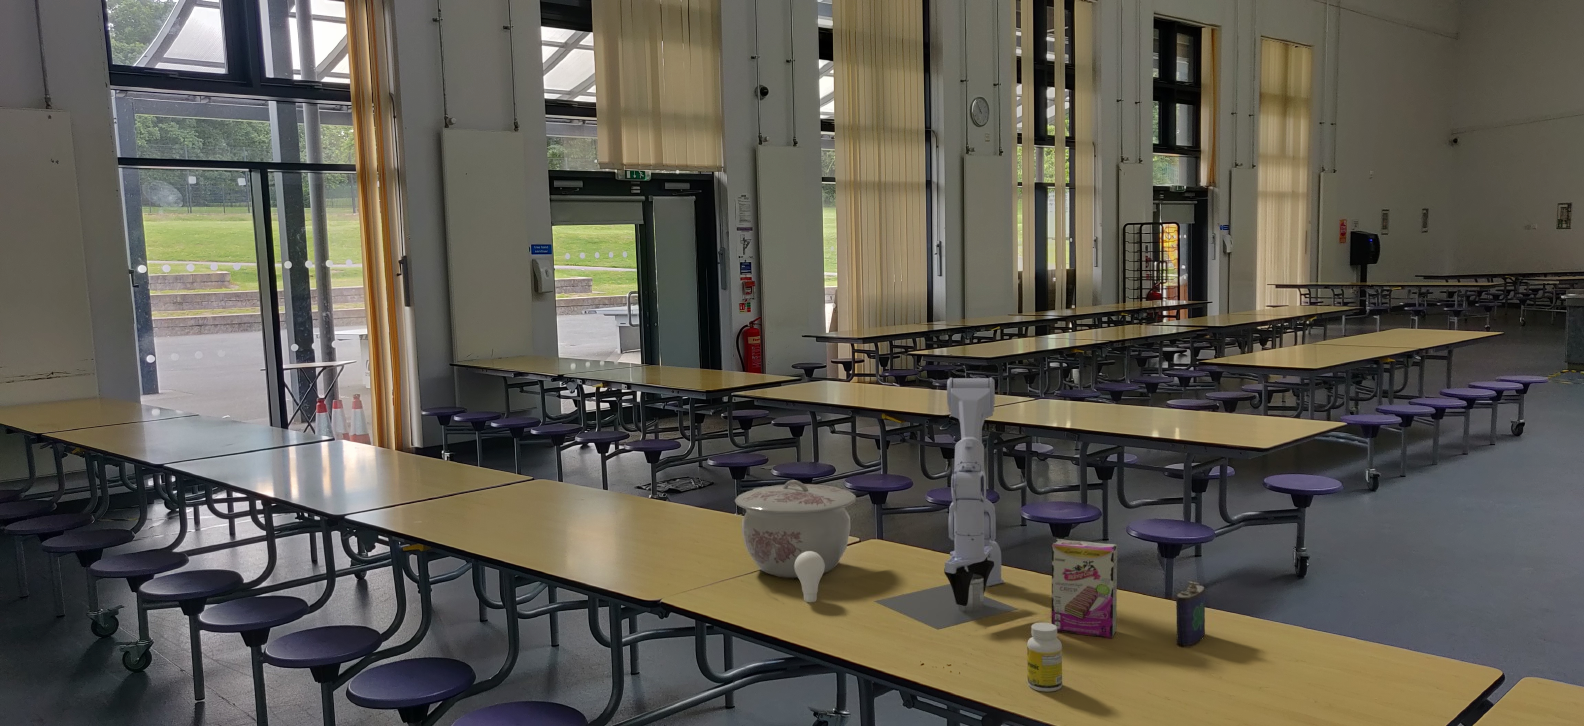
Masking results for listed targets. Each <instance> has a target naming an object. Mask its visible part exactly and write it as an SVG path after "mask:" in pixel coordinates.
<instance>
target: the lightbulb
mask: <svg viewBox="0 0 1584 726" xmlns="http://www.w3.org/2000/svg"><path fill="white" fill-rule="evenodd" d="M794 569H795V572H796V574H797V576H798V578H797V579H799V581H800V584H801V590H802V591H801V592H802V593H803V601H804V602H806V603H814V602H816V601H817V600H818V599H817V598H818V597H817V595H818V594H817V593H818V591H819V584H820V580H821V578H822V577H823V574H824V573H823V572H824V569H825V564H824V561H823V559H822V557H821V556H820V555H819V554H817V553H816V552H813V551H806V552H804V553H802V554H800V555H799V556H798V557H797V559H796V561H795V565H794Z"/></svg>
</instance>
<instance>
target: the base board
mask: <svg viewBox="0 0 1584 726" xmlns="http://www.w3.org/2000/svg"><path fill="white" fill-rule="evenodd" d="M873 603H876V604H879V605H881V606H882V607H885V608H887V609H890V610H892V611H894V612H897V613H899V614H901V615H904V616H905V617H908V618H911V619H913V620H915V621H918V622H920V623H922V624H924V625H926V626H929V627H931V628H933V629H936V630H942V629H946V628H949V627H953V626H957V625H961V624H965V623H969V622H972V621H977V620H981V619H984V618H988V617H993V616H996V615H1000V614H1004V613H1008V612H1011V611H1016V610H1018V608H1017V607H1014V606H1012V605H1008V604H1006V603H1003V602H1001V601H999V600H995V599H992V598H990V597H988V596H986V595H984V609H983V610H981V611H977V612H964V611H960V610H958V609H956V605H955V597H954V593H953V590H952V587H951V584H950V583H948V584H943V585H939V586H934V587H930V588H925V589H921V590H917V591H913V592H909V593H904V594H900V595H895V596H891V597H887V598H882V599H877V600H873Z"/></svg>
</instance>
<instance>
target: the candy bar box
mask: <svg viewBox="0 0 1584 726" xmlns="http://www.w3.org/2000/svg"><path fill="white" fill-rule="evenodd" d="M1117 581H1118V544H1115V543H1104V542H1103V543H1102V542H1092V541H1085V540H1084V541H1083V540H1073V539H1072V540H1071V539H1062V538H1056V540H1055V541H1054V542H1052V546H1051V607H1050V608H1051V614H1050V615H1051V621H1050V624H1054V625H1055V626H1056V627H1057V632H1061V633H1068V634H1069V633H1070V634H1076V635H1077V634H1078V635H1085V636H1091V637H1092V636H1093V637H1101V638H1108V639H1109V638H1110V639H1113V638H1114V635H1115V633H1116V631H1117V619H1118V618H1117V607H1118V606H1117V604H1118V603H1117V601H1118V600H1117V599H1118V598H1117V597H1118V595H1117V593H1118V592H1117V591H1118V589H1117V588H1118V582H1117Z"/></svg>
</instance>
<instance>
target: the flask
mask: <svg viewBox="0 0 1584 726" xmlns="http://www.w3.org/2000/svg"><path fill="white" fill-rule="evenodd" d="M1186 583H1188V584H1189V586H1188V587H1187V588H1186V589H1187V590H1185V591H1180V593H1179V592H1178V593H1177V595H1176V597H1175V598H1176V599H1175V600H1176V601H1175V603H1176V605H1175V606H1176V607H1175V608H1176V646H1177V647H1180V648H1185V649H1186V648H1191V647H1194V646H1196V645H1197V644H1199V643H1200V642H1201V641H1202V640H1203V639H1204V638H1205V636H1206V629H1205V627H1206V625H1205V624H1206V620H1205V619H1206V618H1205V617H1206V615H1205V613H1206V601H1205V600H1206V587H1204V586H1203V585H1200V582H1194V581H1191V580H1188V581H1187V582H1186ZM1202 638H1203V639H1202Z"/></svg>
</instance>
